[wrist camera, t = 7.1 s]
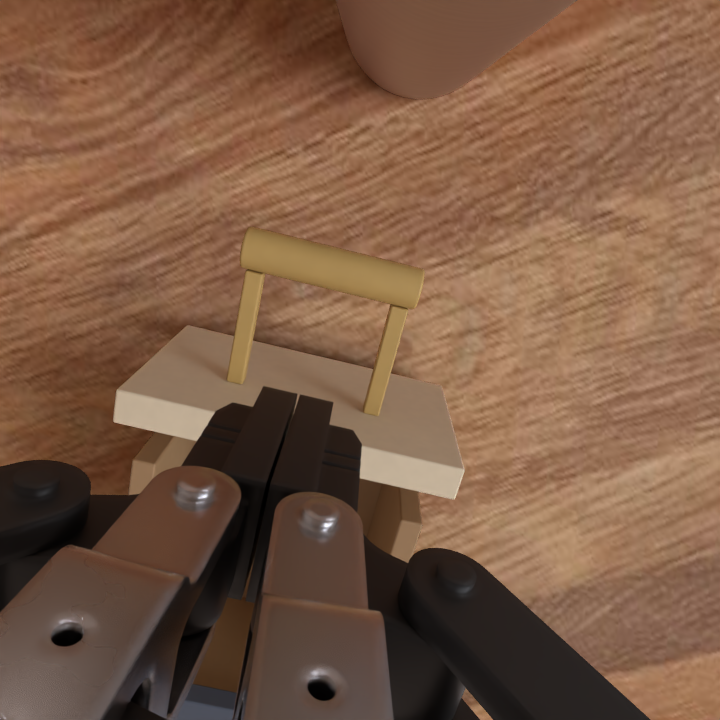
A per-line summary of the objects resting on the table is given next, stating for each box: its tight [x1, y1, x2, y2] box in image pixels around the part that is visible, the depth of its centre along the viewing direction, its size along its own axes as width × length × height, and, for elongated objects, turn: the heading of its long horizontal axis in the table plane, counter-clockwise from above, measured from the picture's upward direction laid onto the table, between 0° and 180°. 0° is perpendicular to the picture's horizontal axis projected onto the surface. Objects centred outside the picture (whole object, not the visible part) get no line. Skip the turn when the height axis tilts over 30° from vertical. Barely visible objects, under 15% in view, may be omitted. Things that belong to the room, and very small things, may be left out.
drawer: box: [113, 227, 465, 693], centre depth 23 cm, size 19×11×7 cm, turn 166°
